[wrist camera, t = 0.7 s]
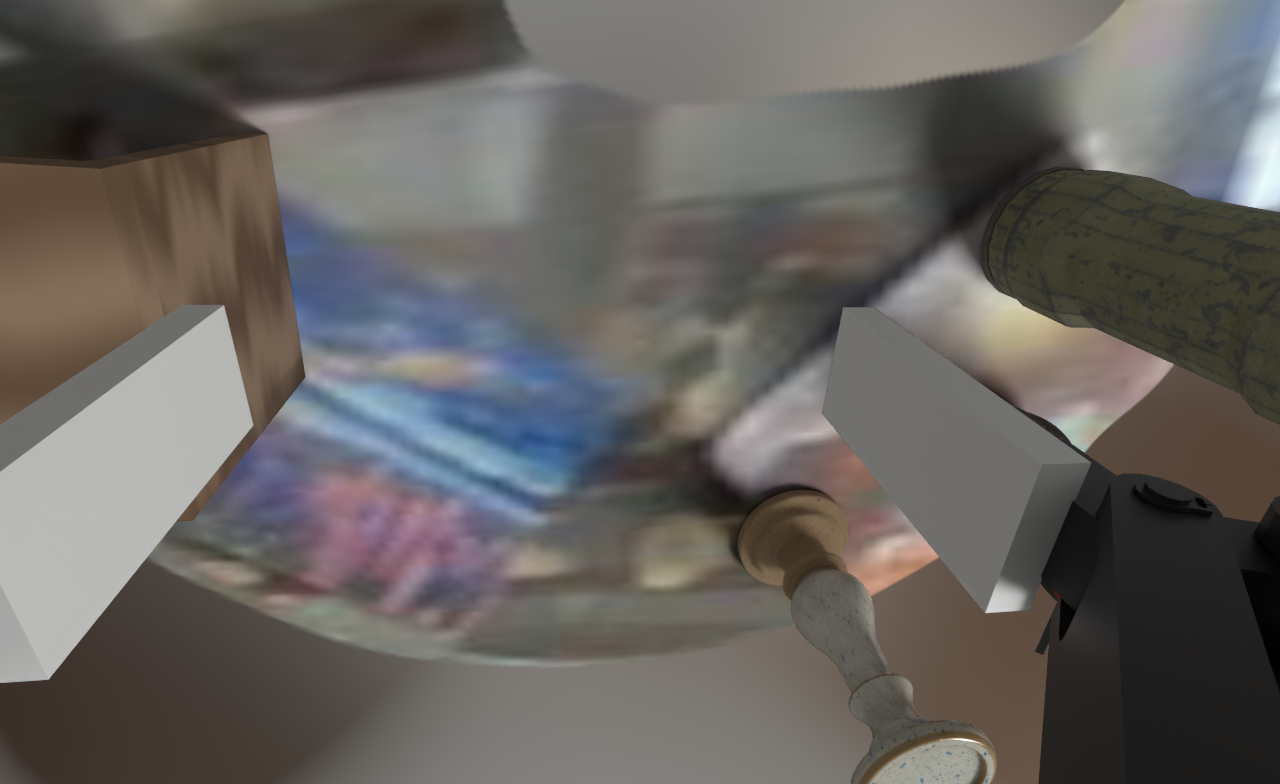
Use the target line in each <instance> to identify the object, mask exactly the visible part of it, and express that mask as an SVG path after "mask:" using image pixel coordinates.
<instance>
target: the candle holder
mask: <svg viewBox="0 0 1280 784" xmlns="http://www.w3.org/2000/svg"><path fill="white" fill-rule="evenodd" d="M848 537H849V526H848V521H847V518H846V516H845V514H844V512H843V511H842V509H841V507H840V506H839V505H838V504H837V503H836V502H835V501H834V500H833V499H831V498H830V497H829V496H827V495H825V494H822V493H820V492H816V491H812V490H792V491H787V492H784V493H780V494H777V495H775V496H773V497H771V498H769V499H767V500H766V501H764V502H762V503H761V504H760V505H759V506H757V507H756V508H755V509H754V510H753V511H752V512H751V513H750V514H749V516H748V517H747V518H746V520H745V521H744V523H743V525H742V527H741V530H740V533H739V536H738V552H739V555H740V559H741V561H742V563H743V565H744V567H745V568H746V570H747V571H748V572H749V573H750V574H751V575H752V576H753V577H754V578H756V579H758V580H759V581H761V582H764V583H767V584H771V585H778V586H783V590H784V592H785V594H786V596H787V597H788V598H789V599H790V600H791V601H792V602H791V614H792V619H793V622H794V624H795V626H796V628H797V629H798V631H799V632H800V634H801V635H802V636H803V637H804V638H805V639H806V640H807V641H808V642H809V643H811V644H812V645H813V646H814V647H815V648H817V649H818V650H820V651H821V652H822V653H824V654H825V655H826V656H828V657H829V658H830V659H831V660H832V661H833V663H834V664H835V665H836V666H837V668H838V670H839V671H840V673H841V675H842V676H843V678H844V680H845V681H846V684H847V685H848V687H849V689H850V691H851V694H852V695H851V697H850V699H849V710H850V712H851V714H852V715H853V716H854V717H855V718H856V719H858V720H860V721H861V722H863V723H865V724H867V725H868V726H869V727H870V729H871V731H872V737H873V740H872V742H871V745H870V748H869V752H868V753H867V754H866V755H865V756H864V757H863V758H862V760H861V761H860V763H859V764H858V765H857V767H856V769H855V771H854V773H853V776H852V780H851V784H991V782H992V780H993V778H994V775H995V772H996V756H995V752H994V748H993V746H992V744H991V743H990V741H989V740H988V738H987V737H986V735H985V734H983V733H982V732H981V731H980V730H979V729H978V728H976V727H974V726H973V725H971V724H967V723H964V722H960V721H954V720H940V721H934V720H932V719H929V718H926V717H922V716H920V715H919V714H917V712H916V711H915V710H914V708H913V706H912V696H913V688H912V685H911V683H910V682H909V681H908V679H906V678H905V677H903V676H901V675H898V674H894V673H893V672H892V670H891V668H890V667H889V665H888V663H887V661H886V659H885V658H884V656H883V654H882V652H881V650H880V648H879V645H878V643H877V639H876V634H875V617H874V609H873V604H872V600H871V597H870V595H869V592H868V590H867V589H866V587H865V586H864V585H863V583H862V582H861V581H860V580H858V579H857V578H856V577H855V576H853V575H851V574H849V573H848V572H847V567H846V564H845V562H844V561H843V560H842V559H841V558H840V556H841V554H842V553H843V551H844V549H845V547H846V544H847V541H848Z"/></svg>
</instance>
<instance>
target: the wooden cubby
mask: <svg viewBox="0 0 1280 784" xmlns="http://www.w3.org/2000/svg"><path fill="white" fill-rule="evenodd" d="M181 305H224V307H225V311H226V315H227V319H228V324H229V328H230V332H231V336H232V340H233V344H234V348H235V352H236V356H237V360H238V364H239V368H240V373H241V377H242V381H243V385H244V389H245V393H246V397H247V401H248V405H249V409H250V413H251V417H252V422H253V426H252V428H251V429H250V430H249V431H248V433H247V434H246V435H245V436H244V438H243V439H242V440H241V441H240V443H239V444H238V445H237V446H236V448H235V449H234V450H233V451H232V453H231V454H230V455H229V456H228V457H227V459H226V460H225V461H224V462H223V464H222V465H221V466H220V467H219V469H218V470H217V471H216V472H215V474H214V475H213V476H212V477H211V479H210V480H209V481H208V482H207V484H206V485H205V486H204V487H203V488H202V490H201V491H200V492H199V493H198V495H197V496H196V497H195V498H194V500H193V501H192V502H191V503H190V505H189V506H188V507H187V508H186V510H185V511H184V512H183V513H182V515H181V516H180V517H179V518H178V519H177V521H193V520H194V519H195V518H196V516H197V515H198V514H199V512H200V511H201V510H202V509H203V507H204V506H205V505H206V504H207V502H208V501H209V500H210V498H211V497H212V496H213V495H214V493H215V492H216V491H217V489H218V488H219V487H220V486H221V484H222V483H223V482H224V480H225V479H226V478H227V477H228V475H229V474H230V473H231V472H232V470H233V469H234V468H235V466H236V465H237V464H238V463H239V461H240V460H241V459H242V457H243V456H244V455H245V454H246V452H247V451H248V450H249V449H250V447H251V446H252V445H253V443H254V442H255V441H256V440H257V438H258V437H259V436H260V434H261V433H262V432H263V431H264V429H265V428H266V427H267V425H268V424H269V423H270V422H271V420H272V419H273V418H274V417H275V415H276V414H277V413H278V411H279V410H280V409H281V408H282V406H283V405H284V404H285V402H286V401H287V400H288V399H289V397H290V396H291V395H292V393H293V392H294V391H295V390H296V388H297V387H298V386H299V385H300V383H301V382H302V381H303V379H304V378H305V372H304V365H303V359H302V353H301V346H300V340H299V333H298V327H297V320H296V314H295V307H294V301H293V294H292V288H291V281H290V275H289V268H288V262H287V256H286V249H285V243H284V236H283V230H282V223H281V217H280V210H279V204H278V197H277V191H276V184H275V178H274V171H273V165H272V159H271V152H270V146H269V139H268V134H261V133H247V132H241V133H236V134H231V135H225V136H220V137H214V138H209V139H204V140H198V141H193V142H187V143H182V144H176V145H171V146H166V147H160V148H155V149H149V150H144V151H139V152H133V153H128V154H122V155H117V156H112V157H106V158H101V159H95V160H90V161H80V160H63V159H47V158H31V157H15V156H0V424H2V423H3V422H5V421H6V420H8V419H9V418H11V417H12V416H14V415H15V414H17V413H19V412H20V411H22V410H23V409H25V408H26V407H28V406H29V405H31V404H32V403H34V402H35V401H37V400H38V399H40V398H41V397H43V396H44V395H46V394H47V393H49V392H50V391H52V390H53V389H55V388H57V387H58V386H60V385H61V384H63V383H64V382H66V381H67V380H69V379H70V378H72V377H73V376H75V375H76V374H78V373H79V372H81V371H82V370H84V369H85V368H87V367H88V366H90V365H91V364H93V363H95V362H96V361H98V360H99V359H101V358H102V357H104V356H105V355H107V354H108V353H110V352H111V351H113V350H114V349H116V348H117V347H119V346H120V345H122V344H123V343H125V342H126V341H128V340H129V339H131V338H133V337H134V336H136V335H137V334H139V333H140V332H142V331H143V330H145V329H146V328H148V327H149V326H151V325H152V324H154V323H155V322H157V321H158V320H160V319H161V318H163V317H164V316H166V315H168V314H169V313H171V312H172V311H174V310H175V309H177V308H178V307H180V306H181Z"/></svg>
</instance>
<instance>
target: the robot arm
mask: <svg viewBox="0 0 1280 784" xmlns="http://www.w3.org/2000/svg"><path fill="white" fill-rule="evenodd" d="M822 414H823V415H824V416H825V417H826V419H827V420H828V421H829V422H830V424H831V425H832V426H833V427H834V428H835V430H836V431H837V432H838V433H839V435H840V436H841V437H842V438H843V439H844V441H845V442H846V443H847V444H848V446H849V447H850V448H851V449H852V450H853V452H854V453H855V454H856V455H857V457H858V458H859V459H860V460H861V462H862V463H863V464H864V465H865V466H866V468H867V469H868V470H869V471H870V473H871V474H872V475H873V476H874V477H875V479H876V480H877V481H878V482H879V484H880V485H881V486H882V487H883V488H884V490H885V491H886V492H887V493H888V495H889V496H890V497H891V498H892V499H893V501H894V502H895V503H896V504H897V506H898V507H899V508H900V509H901V510H902V512H903V513H904V514H905V515H906V517H907V518H908V519H909V520H910V522H911V523H912V524H913V525H914V526H915V528H916V529H917V530H918V531H919V533H920V534H921V535H922V536H923V537H924V539H925V540H926V541H927V542H928V544H929V545H930V546H931V547H932V548H933V550H934V551H935V552H936V553H937V555H938V556H939V557H940V558H941V559H942V561H943V562H944V563H945V564H946V566H947V567H948V568H949V569H950V571H951V572H952V573H953V574H954V575H955V577H956V578H957V579H958V580H959V581H960V582H961V584H962V585H963V586H964V588H965V589H966V590H967V591H968V592H969V594H970V595H971V596H972V597H973V599H974V600H975V601H976V602H977V604H978V605H979V606H980V607H981V608H982V610H983V611H984V612H985V613H992V612H1006V611H1020V610H1029V609H1030V606H1031V604H1032V602H1033V600H1034V597H1035V595H1036V592H1037V590H1038V588H1039V585H1040V583H1041V581H1042V579H1043V580H1044V581H1045V582H1046V583H1047V584H1048V585H1049V586H1050V587H1051V588H1052V589H1053V590H1054V591H1055V592H1056V593H1057V594H1058V595H1059V596H1060V597H1059V599H1058V601H1057V604H1056V606H1055V608H1054V610H1053V613H1052V615H1051V617H1050V619H1049V622H1048V624H1047V626H1046V628H1045V631H1044V633H1043V635H1042V637H1041V640H1040V642H1039V644H1038V646H1037V649H1036V651H1035V652H1038V653H1040V654H1042V655H1043V654H1044V653H1045V651H1046V649H1047V647H1049V651H1048V664H1047V677H1046V691H1045V704H1044V718H1043V731H1042V745H1041V758H1040V771H1039V784H1280V496H1278V497H1275V499H1274V500H1273V502H1272V503H1271V504H1270V507H1269V508H1268V510H1267V511H1266V513H1265V515H1264V516H1263V518H1262V520H1261V521H1260V523H1259V522H1252V521H1245V520H1238V519H1232V518H1225V517H1223V516H1222V514H1221V513H1220V511H1219V510H1218V508H1217V507H1216V506H1215V505H1214V504H1213V503H1211V502H1210V501H1209V500H1207V499H1206V498H1204V497H1203V496H1202V495H1200V494H1198V493H1196V492H1194V491H1192V490H1190V489H1188V488H1186V487H1184V486H1182V485H1179V484H1176V483H1173V482H1170V481H1167V480H1165V479H1162V478H1158V477H1153V476H1148V475H1143V474H1121V475H1118V476H1116V475H1115V474H1113V473H1112V472H1111V471H1109V470H1108V469H1106V468H1105V467H1103V466H1102V465H1100V464H1099V463H1098V462H1096V461H1095V460H1094V459H1092V458H1091V457H1089V456H1088V455H1087V454H1085V453H1084V452H1082V451H1081V450H1079V449H1078V448H1077V447H1075V446H1074V445H1072V444H1071V443H1070V442H1068V441H1063V438H1062V437H1061V436H1060V435H1058V434H1057V433H1055V432H1054V431H1053V430H1051V429H1046V426H1045V425H1044V424H1043V423H1041V422H1040V421H1038V420H1037V419H1036V418H1034V417H1033V416H1031V415H1030V414H1029V413H1027V412H1026V411H1023V410H1021V409H1019V408H1017V407H1015V406H1012V405H1010V404H1009V403H1007V402H1006V401H1004V400H1003V399H1002V398H1000V397H999V396H997V395H996V394H995V393H993V392H992V391H990V390H989V389H988V388H986V387H985V386H983V385H982V384H981V383H979V382H978V381H976V380H975V379H974V378H972V377H971V376H969V375H968V374H967V373H965V372H964V371H963V370H961V369H960V368H958V367H957V366H956V365H954V364H953V363H951V362H950V361H949V360H947V359H946V358H944V357H943V356H942V355H940V354H939V353H937V352H936V351H935V350H933V349H932V348H930V347H929V346H928V345H926V344H925V343H923V342H922V341H921V340H919V339H918V338H916V337H915V336H914V335H912V334H911V333H909V332H908V331H907V330H905V329H904V328H902V327H901V326H900V325H898V324H897V323H895V322H894V321H893V320H891V319H890V318H888V317H887V316H886V315H884V314H883V313H881V312H880V311H879V310H877V309H876V308H874V307H843V311H842V316H841V321H840V326H839V331H838V336H837V341H836V346H835V351H834V356H833V361H832V366H831V371H830V376H829V381H828V386H827V391H826V396H825V401H824V406H823V411H822ZM252 426H253V422H252V417H251V413H250V409H249V405H248V401H247V397H246V393H245V389H244V385H243V381H242V377H241V373H240V368H239V364H238V360H237V356H236V352H235V348H234V344H233V340H232V336H231V332H230V328H229V324H228V319H227V315H226V311H225V307H224V305H181V306H180V307H178V308H177V309H175V310H174V311H172V312H171V313H169V314H168V315H166V316H164V317H163V318H161V319H160V320H158V321H157V322H155V323H154V324H152V325H151V326H149V327H148V328H146V329H145V330H143V331H142V332H140V333H139V334H137V335H136V336H134V337H133V338H131V339H129V340H128V341H126V342H125V343H123V344H122V345H120V346H119V347H117V348H116V349H114V350H113V351H111V352H110V353H108V354H107V355H105V356H104V357H102V358H101V359H99V360H98V361H96V362H95V363H93V364H91V365H90V366H88V367H87V368H85V369H84V370H82V371H81V372H79V373H78V374H76V375H75V376H73V377H72V378H70V379H69V380H67V381H66V382H64V383H63V384H61V385H60V386H58V387H57V388H55V389H53V390H52V391H50V392H49V393H47V394H46V395H44V396H43V397H41V398H40V399H38V400H37V401H35V402H34V403H32V404H31V405H29V406H28V407H26V408H25V409H23V410H22V411H20V412H19V413H17V414H15V415H14V416H12V417H11V418H9V419H8V420H6V421H5V422H3V423H2V424H0V683H5V682H19V681H32V680H46V679H47V680H48V679H49V678H50V677H51V676H52V674H53V673H54V672H55V671H56V669H57V668H58V667H59V666H60V664H61V663H62V662H63V661H64V659H65V658H66V657H67V656H68V655H69V653H70V652H71V651H72V650H73V648H74V647H75V646H76V645H77V643H78V642H79V641H80V640H81V638H82V637H83V636H84V635H85V634H86V632H87V631H88V630H89V628H90V627H91V626H92V625H93V624H94V622H95V621H96V619H97V618H98V617H99V616H100V615H101V614H102V612H103V611H104V610H105V609H106V607H107V606H108V605H109V604H110V602H111V601H112V600H113V599H114V598H115V596H116V595H117V594H118V592H119V591H120V590H121V589H122V588H123V586H124V585H125V584H126V583H127V581H128V580H129V579H130V578H131V576H132V575H133V574H134V573H135V572H136V570H137V569H138V568H139V567H140V565H141V564H142V563H143V562H144V560H145V559H146V558H147V557H148V555H149V554H150V553H151V552H152V550H153V549H154V548H155V547H156V545H157V544H158V543H159V542H160V541H161V539H162V538H163V537H164V536H165V534H166V533H167V532H168V531H169V529H170V528H171V527H172V526H173V524H174V523H175V522H176V521H177V519H178V518H179V517H180V516H181V515H182V513H183V512H184V511H185V510H186V508H187V507H188V506H189V505H190V503H191V502H192V501H193V500H194V498H195V497H196V496H197V495H198V493H199V492H200V491H201V490H202V488H203V487H204V486H205V485H206V484H207V482H208V481H209V480H210V479H211V477H212V476H213V475H214V474H215V472H216V471H217V470H218V469H219V467H220V466H221V465H222V464H223V462H224V461H225V460H226V459H227V457H228V456H229V455H230V454H231V453H232V451H233V450H234V449H235V448H236V446H237V445H238V444H239V443H240V441H241V440H242V439H243V438H244V436H245V435H246V434H247V433H248V431H249V430H250V429H251V428H252Z"/></svg>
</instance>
